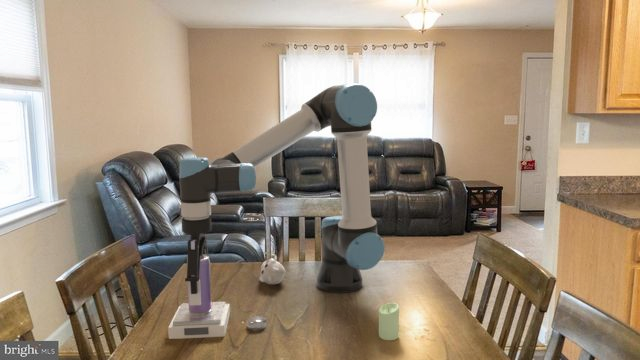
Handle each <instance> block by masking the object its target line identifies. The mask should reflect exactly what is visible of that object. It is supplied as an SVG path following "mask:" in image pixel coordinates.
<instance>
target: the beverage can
mask: <svg viewBox="0 0 640 360" xmlns="http://www.w3.org/2000/svg"><path fill="white" fill-rule="evenodd" d="M208 255H209V254H208ZM208 255H205V254H203V255H202V256H201V258H200V271H199V279H200V290H201V305H191V306H190V300H189V281H187V297H188V298H187V299H188V302H187V303H189V311H190V313H191V314H193V315H204V314H207V313H209V312H210V310H211V309H212V302H213V301H212V282H211V281H212V278H211V258H210V255H209V256H208ZM209 258H210V259H209ZM187 262H188V257H187V260H186V263H187ZM191 276H194V275H191Z"/></svg>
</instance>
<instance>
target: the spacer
mask: <svg viewBox="0 0 640 360" xmlns="http://www.w3.org/2000/svg"><path fill="white" fill-rule="evenodd" d="M246 324H247V326H246V328H247V329H248V330H249V331H252V332H257V331H262V330H264V329H266V328H267V318H266V317H263V316H259V315H257V316H252V317H249V318H248V319H247V320H246Z"/></svg>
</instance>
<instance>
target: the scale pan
mask: <svg viewBox="0 0 640 360" xmlns="http://www.w3.org/2000/svg"><path fill="white" fill-rule="evenodd" d="M211 302H212V309H211V310H210V312H209V313H207V314H204V315H193V314H191V313H190V311H189V303H188V302H184V303H181V305H180V306H181V307H180V308H179V307H178V308H179V310H178V309H177V310H178V312H177V314H176V316H175V318H174V320H173V325H195V324H219V323H221V320H222V317H223V313H224V309H225V306H226V304H227V303H226V301H211Z"/></svg>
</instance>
